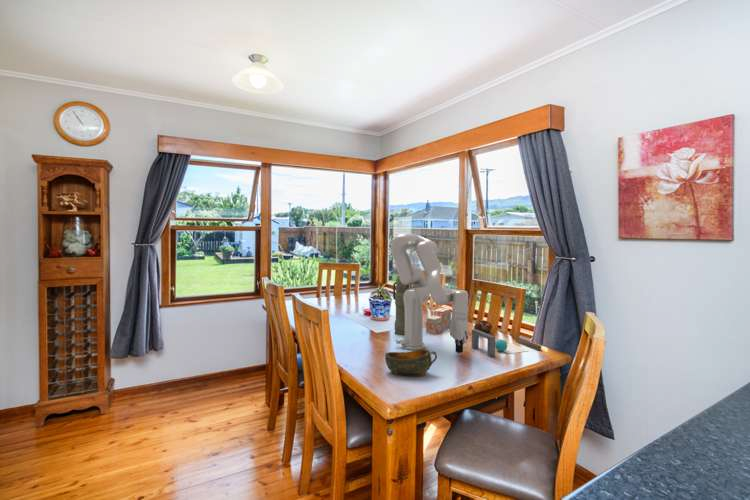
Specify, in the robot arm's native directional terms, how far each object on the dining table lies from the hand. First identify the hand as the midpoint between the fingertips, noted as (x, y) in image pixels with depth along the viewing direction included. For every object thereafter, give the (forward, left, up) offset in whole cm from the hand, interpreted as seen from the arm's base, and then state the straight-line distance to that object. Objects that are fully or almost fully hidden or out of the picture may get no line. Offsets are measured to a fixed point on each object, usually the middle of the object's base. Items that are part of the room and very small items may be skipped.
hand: (459, 352), depth 182 cm
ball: (+24, -2, +2) cm, 24 cm away
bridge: (+14, 0, -2) cm, 14 cm away
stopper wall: (+43, 0, -2) cm, 43 cm away
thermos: (-10, +45, -2) cm, 46 cm away
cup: (-33, -13, -2) cm, 36 cm away
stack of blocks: (+14, +44, -2) cm, 47 cm away
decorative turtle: (+35, +28, -2) cm, 45 cm away
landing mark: (+31, 0, -2) cm, 31 cm away
